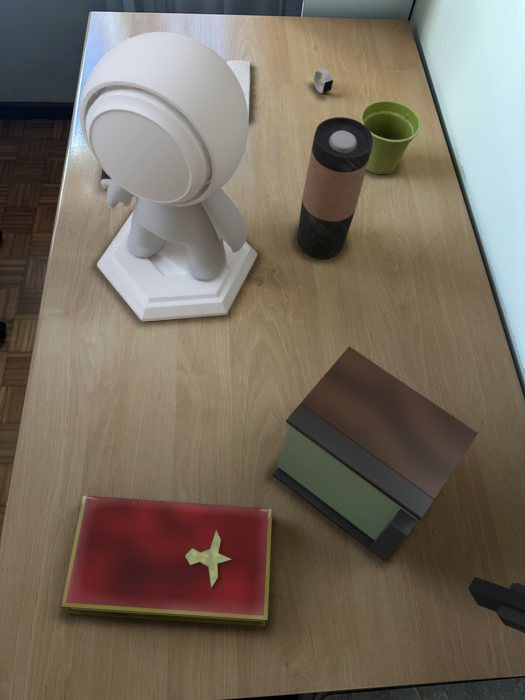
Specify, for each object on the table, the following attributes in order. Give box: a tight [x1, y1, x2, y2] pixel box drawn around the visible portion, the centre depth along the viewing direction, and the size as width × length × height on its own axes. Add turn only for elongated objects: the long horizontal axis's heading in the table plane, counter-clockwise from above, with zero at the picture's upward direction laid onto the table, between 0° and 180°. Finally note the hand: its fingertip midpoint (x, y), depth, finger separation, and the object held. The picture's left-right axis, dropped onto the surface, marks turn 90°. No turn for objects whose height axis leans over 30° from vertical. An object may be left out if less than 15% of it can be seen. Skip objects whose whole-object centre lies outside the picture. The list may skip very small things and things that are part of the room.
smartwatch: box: [313, 68, 334, 94], centre depth 117 cm, size 4×2×4 cm, turn 32°
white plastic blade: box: [225, 59, 251, 120], centre depth 116 cm, size 5×15×1 cm, turn 0°
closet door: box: [277, 424, 419, 562], centre depth 71 cm, size 3×16×14 cm, turn 52°
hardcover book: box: [60, 494, 273, 627], centre depth 72 cm, size 12×21×4 cm, turn 87°
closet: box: [272, 345, 479, 550], centre depth 74 cm, size 11×16×16 cm
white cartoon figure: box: [79, 31, 258, 322], centre depth 81 cm, size 20×23×35 cm
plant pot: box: [359, 99, 422, 175], centre depth 106 cm, size 9×9×9 cm
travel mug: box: [296, 116, 373, 260], centre depth 92 cm, size 8×8×20 cm
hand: (476, 590), depth 66 cm, fingers closed
